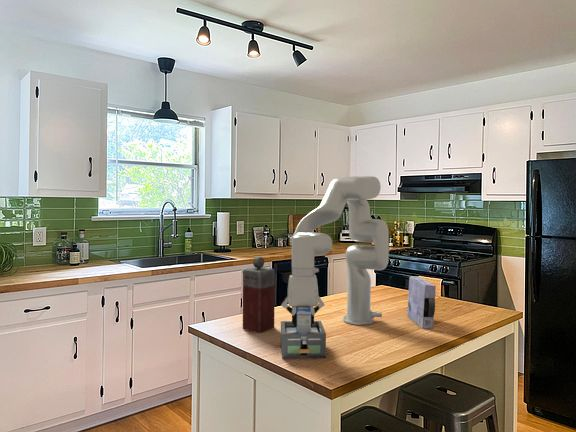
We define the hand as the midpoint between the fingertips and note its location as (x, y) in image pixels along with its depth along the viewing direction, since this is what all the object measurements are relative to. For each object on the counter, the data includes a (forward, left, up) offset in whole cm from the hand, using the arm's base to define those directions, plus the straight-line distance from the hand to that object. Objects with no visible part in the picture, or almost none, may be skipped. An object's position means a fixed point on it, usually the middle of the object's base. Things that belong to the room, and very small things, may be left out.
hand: (302, 325), depth 148 cm
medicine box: (0, 0, -2) cm, 2 cm away
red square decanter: (+16, -26, -9) cm, 32 cm away
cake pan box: (-51, -31, -9) cm, 60 cm away
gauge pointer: (0, +8, -6) cm, 10 cm away
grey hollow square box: (0, 0, -8) cm, 8 cm away
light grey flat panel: (0, +2, -3) cm, 4 cm away
